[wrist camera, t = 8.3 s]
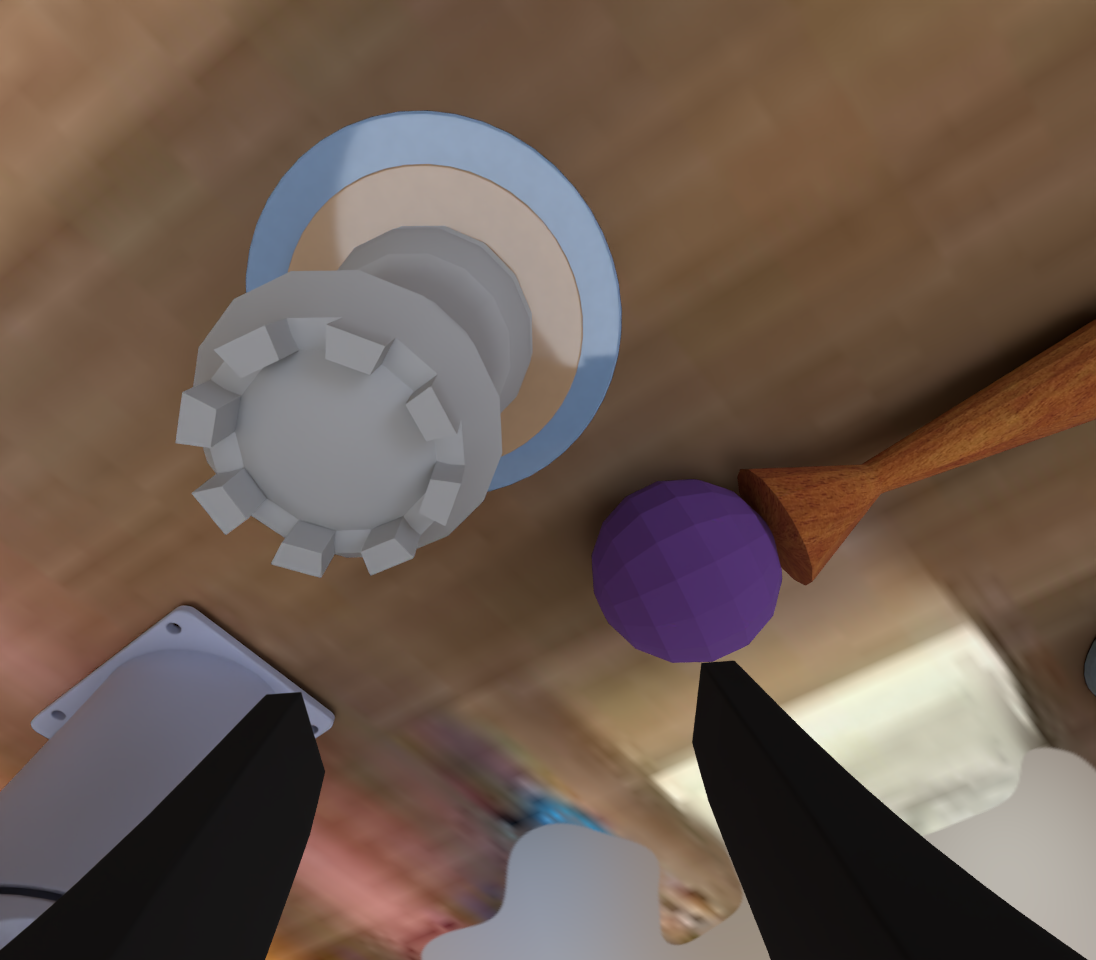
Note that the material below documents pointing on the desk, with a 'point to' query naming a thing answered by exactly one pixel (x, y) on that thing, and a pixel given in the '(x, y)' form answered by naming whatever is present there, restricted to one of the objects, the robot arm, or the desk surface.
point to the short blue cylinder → (481, 213)
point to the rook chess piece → (361, 398)
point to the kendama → (801, 513)
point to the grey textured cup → (1091, 669)
